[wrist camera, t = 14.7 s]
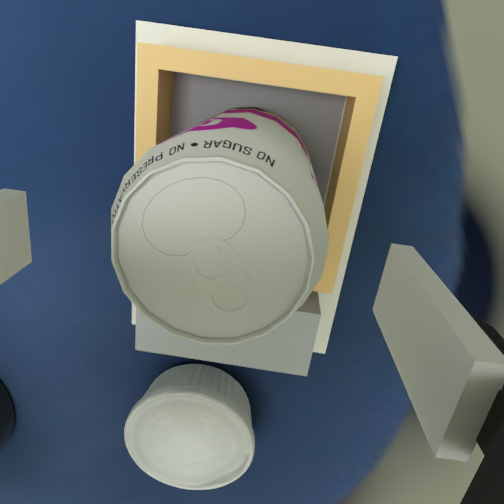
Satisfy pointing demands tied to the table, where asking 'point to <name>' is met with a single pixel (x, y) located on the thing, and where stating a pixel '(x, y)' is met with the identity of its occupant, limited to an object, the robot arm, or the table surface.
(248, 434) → the ramekin
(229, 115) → the supplement can
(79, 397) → the table surface
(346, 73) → the tan-rimmed shallow tray
